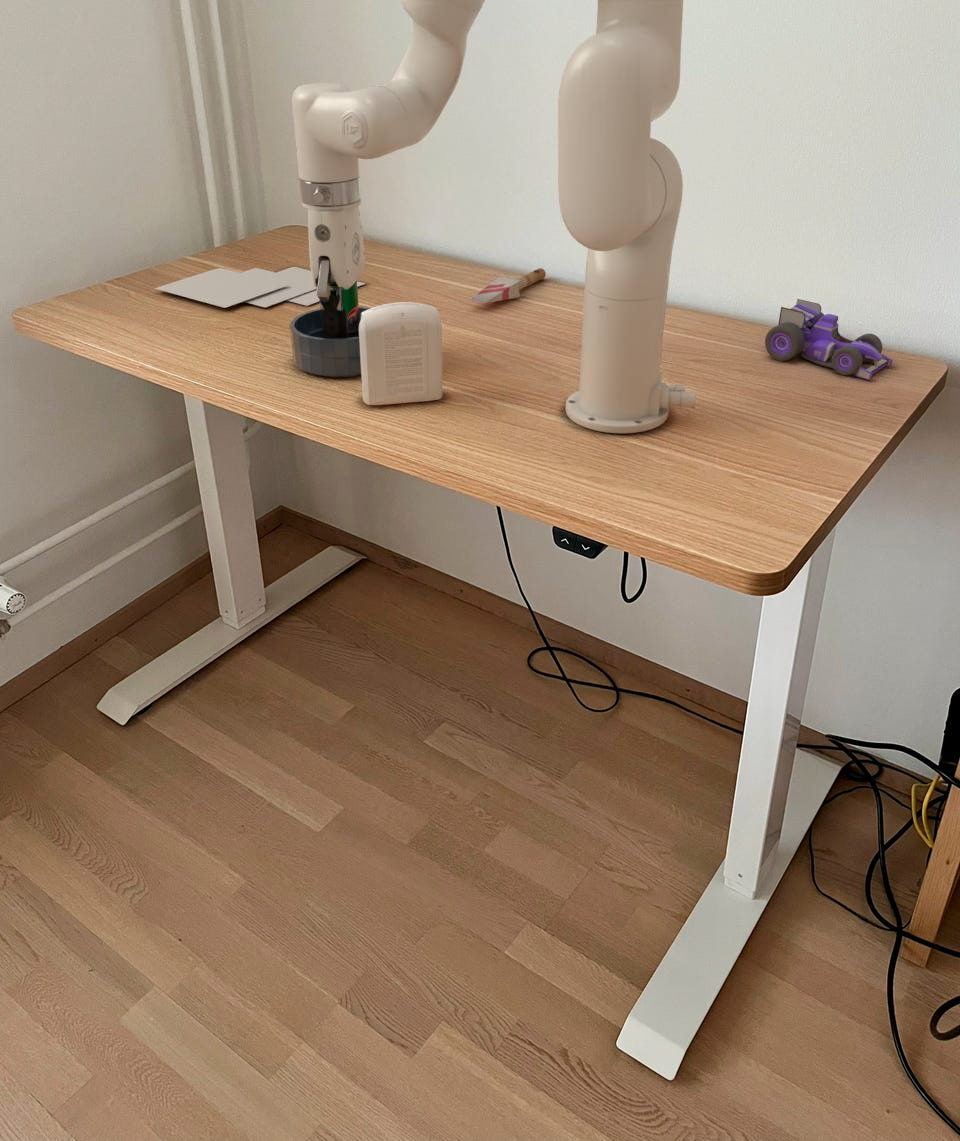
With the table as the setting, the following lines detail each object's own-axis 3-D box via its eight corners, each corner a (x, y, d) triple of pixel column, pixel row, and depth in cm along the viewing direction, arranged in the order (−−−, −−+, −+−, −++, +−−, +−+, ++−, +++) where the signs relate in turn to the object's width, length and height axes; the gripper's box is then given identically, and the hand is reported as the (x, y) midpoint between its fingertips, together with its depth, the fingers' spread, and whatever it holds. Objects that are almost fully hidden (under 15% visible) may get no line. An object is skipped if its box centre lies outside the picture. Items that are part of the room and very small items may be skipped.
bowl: (402, 346, 146) (401, 308, 143) (380, 382, 134) (377, 342, 131) (311, 341, 147) (307, 303, 144) (281, 376, 136) (276, 337, 133)
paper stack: (259, 258, 182) (259, 254, 181) (365, 283, 169) (365, 279, 169) (154, 292, 166) (154, 288, 165) (263, 322, 154) (262, 318, 153)
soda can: (355, 365, 138) (349, 277, 131) (320, 362, 139) (311, 275, 132) (366, 352, 142) (360, 265, 136) (332, 349, 143) (324, 264, 136)
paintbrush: (466, 289, 157) (532, 263, 171) (466, 307, 158) (531, 280, 173) (487, 293, 155) (552, 267, 170) (487, 311, 157) (551, 283, 171)
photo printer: (439, 388, 132) (437, 294, 126) (446, 401, 129) (444, 305, 122) (360, 396, 130) (354, 301, 124) (365, 409, 127) (358, 312, 120)
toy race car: (864, 384, 133) (875, 336, 129) (761, 356, 142) (769, 310, 138) (895, 364, 139) (906, 317, 135) (795, 338, 147) (802, 293, 144)
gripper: (341, 209, 121) (352, 355, 131) (375, 178, 135) (383, 312, 145) (280, 207, 122) (295, 352, 132) (321, 176, 136) (332, 309, 146)
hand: (341, 329), depth 138 cm, fingers closed on soda can, 5 cm apart
